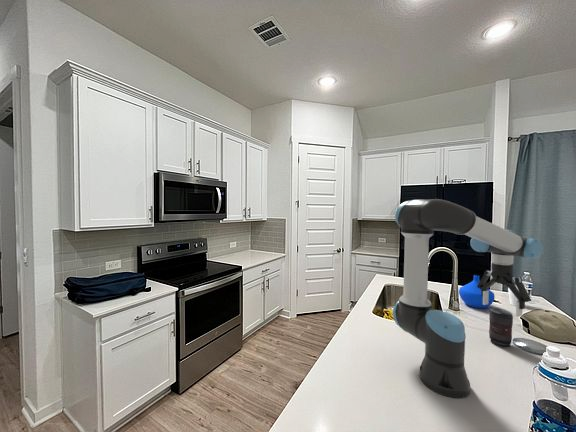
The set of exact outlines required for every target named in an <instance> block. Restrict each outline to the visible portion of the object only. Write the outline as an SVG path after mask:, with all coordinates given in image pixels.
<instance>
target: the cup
mask: <svg viewBox="0 0 576 432" xmlns="http://www.w3.org/2000/svg"><path fill="white" fill-rule="evenodd" d="M515 287H516V288H517V286H516V284H515ZM524 287H525V289H526V291H527V292H528V288H527V287H526V286H524ZM517 289H518V288H517ZM507 292H508V299H509V304H510V305H511V304H512V305H511V306H514V305H515V306H514V307H516V301H519V300H518V299H517V298H516V296H515V295H514V294H513V292H512V291H511V290H510V289H509V287H507Z"/></svg>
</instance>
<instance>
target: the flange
mask: <svg viewBox="0 0 576 432" xmlns="http://www.w3.org/2000/svg"><path fill="white" fill-rule="evenodd" d="M512 345H513V346H515V347H516V348H517V349H520V350H522V351H525V352H528V353H530V354H534V355H540V356H542V355H541V354H543V353H544V352H546V347H548V346H547V345H545V344H543V343H541V342H539V341H536V340H533V339H530V338H525V337H514V338H513V339H512Z"/></svg>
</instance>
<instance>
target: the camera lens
mask: <svg viewBox="0 0 576 432" xmlns="http://www.w3.org/2000/svg"><path fill="white" fill-rule="evenodd" d="M488 316H489V317H488V318H489V327H488V334H489V337H488V338H489V339H490V343H491V344H493V345H495V346H497V347H499V348H506V349H507V348H510V346H511V344H512V342H513V339H512V338H513V334H512V333H513V324H514V323H513V322H514V318H513V317H514V316H513V313H512V312H510V311H508V310H505V309H501V308H490V310H489V315H488Z"/></svg>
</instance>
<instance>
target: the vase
mask: <svg viewBox="0 0 576 432" xmlns="http://www.w3.org/2000/svg"><path fill="white" fill-rule="evenodd" d="M479 282H480V275H475V274H474V275H473V280H472V281H471V282H469V283H467V284H465V285H462V286H460V287H459V289H458V295H459V297H460V299H461V300H462V301H463V302H464V304H466V306H469V307H471V306H472V307H471V308H475V307H477V308H476V309H486V308H488V307H490V306H491V305H492V304H493V302H494V301H495V298H496V297H495V294H494V292H493V291H492V290H491V289H490V288H488V289H487V290H486V291H489V299H488V304H487V305H483V297H482V296H481V289H480V288H477V285H478V284H479Z"/></svg>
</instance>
